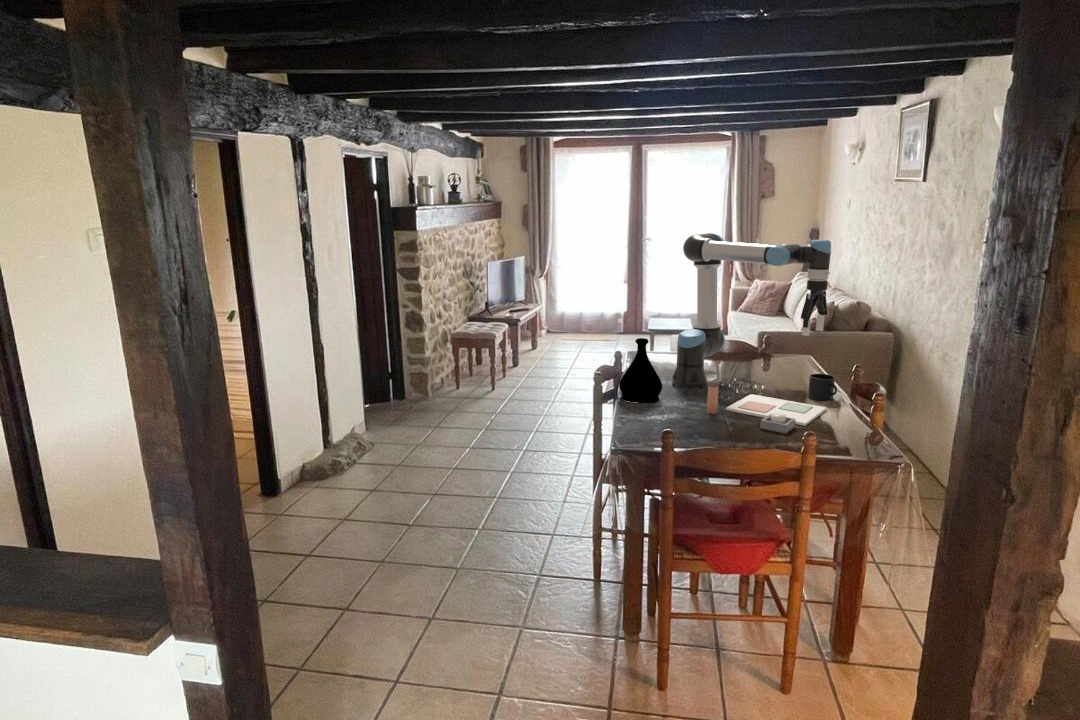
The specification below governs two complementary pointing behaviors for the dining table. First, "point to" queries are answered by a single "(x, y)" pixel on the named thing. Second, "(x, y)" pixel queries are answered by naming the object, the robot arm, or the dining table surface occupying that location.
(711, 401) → the marker
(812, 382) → the mug
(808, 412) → the picture board
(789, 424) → the button box
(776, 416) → the button
